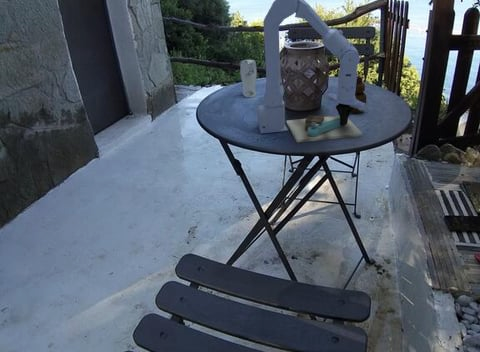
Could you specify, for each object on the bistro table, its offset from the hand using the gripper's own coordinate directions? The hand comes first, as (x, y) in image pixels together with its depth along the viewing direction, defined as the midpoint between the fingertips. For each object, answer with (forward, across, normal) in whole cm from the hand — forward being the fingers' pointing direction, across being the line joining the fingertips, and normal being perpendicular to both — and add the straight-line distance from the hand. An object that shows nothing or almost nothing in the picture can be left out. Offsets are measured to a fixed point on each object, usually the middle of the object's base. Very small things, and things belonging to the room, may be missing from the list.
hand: (343, 124), depth 127 cm
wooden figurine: (+2, +8, -16) cm, 18 cm away
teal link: (0, +2, +6) cm, 6 cm away
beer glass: (+2, +53, +2) cm, 53 cm away
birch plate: (+2, +5, +5) cm, 7 cm away
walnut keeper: (+1, +5, +8) cm, 10 cm away
